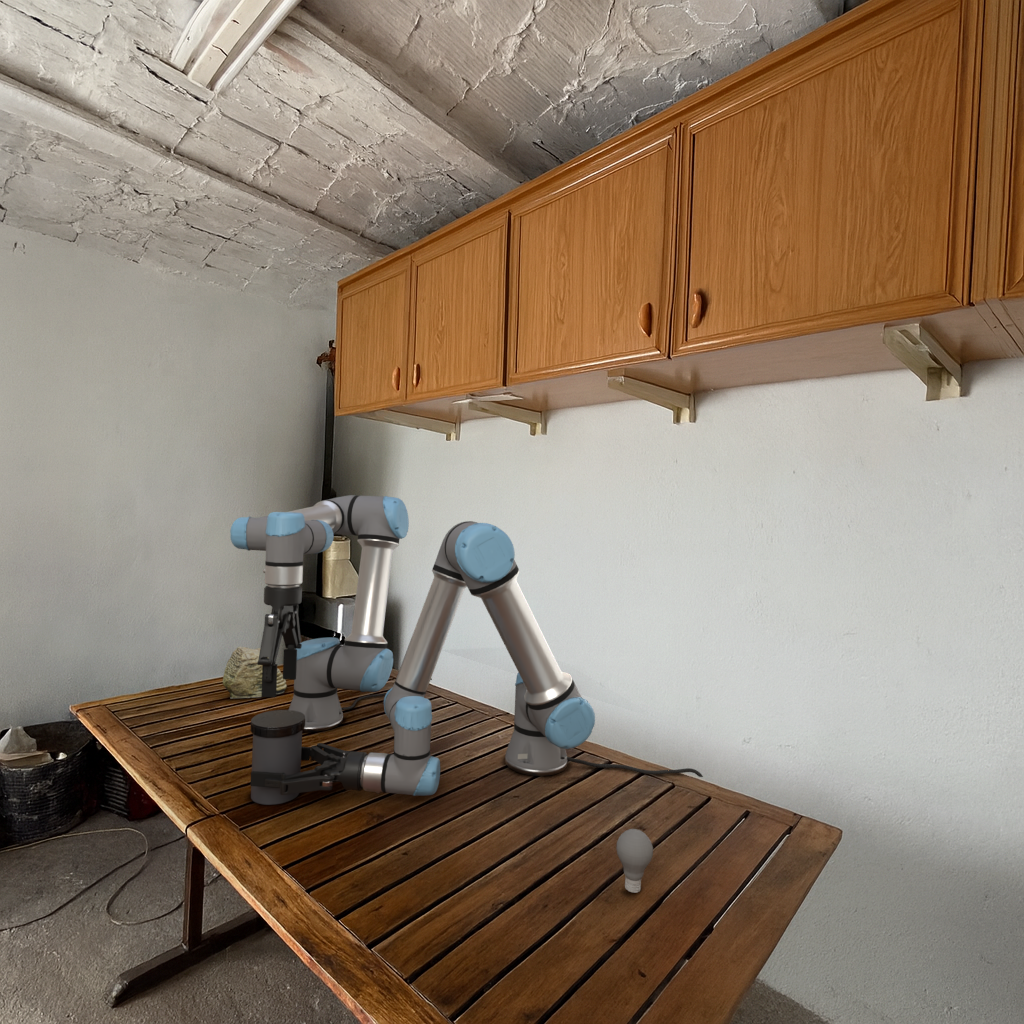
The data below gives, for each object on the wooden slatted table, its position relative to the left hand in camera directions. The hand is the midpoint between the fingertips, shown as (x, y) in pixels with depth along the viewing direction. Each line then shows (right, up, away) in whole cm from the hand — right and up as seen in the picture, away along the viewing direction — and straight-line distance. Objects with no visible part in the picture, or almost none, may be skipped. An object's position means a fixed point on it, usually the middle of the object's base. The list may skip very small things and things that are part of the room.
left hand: (279, 687), depth 134 cm
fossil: (-31, -20, +64) cm, 74 cm away
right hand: (-3, -16, 0) cm, 17 cm away
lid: (0, -7, 0) cm, 7 cm away
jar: (-1, -23, 0) cm, 23 cm away
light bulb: (+69, -26, -28) cm, 79 cm away
